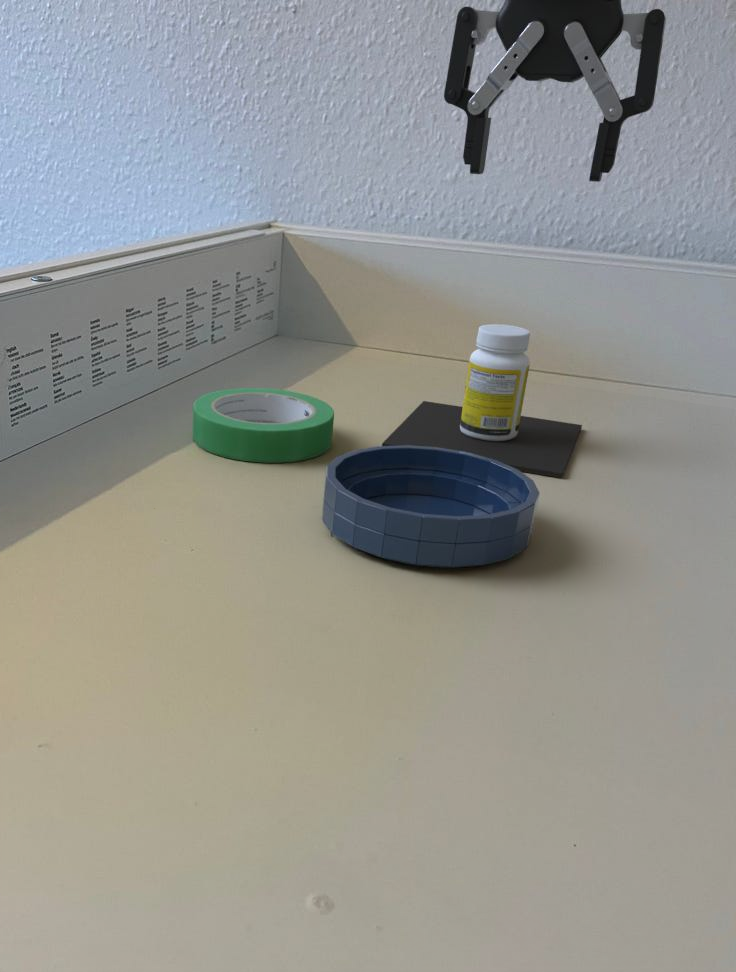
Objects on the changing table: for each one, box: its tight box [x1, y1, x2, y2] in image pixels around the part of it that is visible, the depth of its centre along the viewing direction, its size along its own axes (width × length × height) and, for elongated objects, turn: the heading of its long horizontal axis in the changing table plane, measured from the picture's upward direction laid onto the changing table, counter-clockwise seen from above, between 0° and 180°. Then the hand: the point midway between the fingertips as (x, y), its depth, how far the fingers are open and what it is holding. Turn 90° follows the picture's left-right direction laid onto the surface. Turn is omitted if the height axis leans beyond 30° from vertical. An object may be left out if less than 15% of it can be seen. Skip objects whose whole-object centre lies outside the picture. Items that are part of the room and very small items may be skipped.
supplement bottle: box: [460, 323, 531, 441], centre depth 79 cm, size 5×5×8 cm
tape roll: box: [192, 387, 335, 464], centre depth 78 cm, size 11×11×3 cm
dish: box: [321, 445, 540, 569], centre depth 63 cm, size 13×13×4 cm
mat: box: [381, 400, 583, 479], centre depth 82 cm, size 14×14×1 cm
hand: (534, 177), depth 72 cm, fingers open, 8 cm apart
